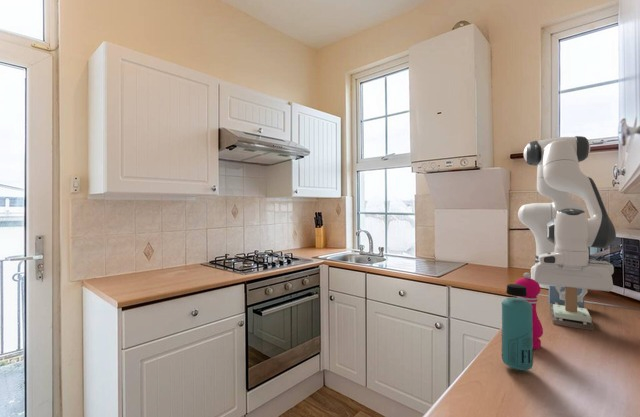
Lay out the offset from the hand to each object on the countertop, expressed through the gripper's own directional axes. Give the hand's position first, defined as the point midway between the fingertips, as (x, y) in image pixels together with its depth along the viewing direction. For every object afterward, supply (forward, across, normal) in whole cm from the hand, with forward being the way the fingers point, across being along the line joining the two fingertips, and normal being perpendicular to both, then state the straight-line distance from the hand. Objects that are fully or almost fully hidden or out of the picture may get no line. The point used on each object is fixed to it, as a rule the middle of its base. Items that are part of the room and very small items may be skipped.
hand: (570, 300), depth 104 cm
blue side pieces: (+7, 0, -18) cm, 19 cm away
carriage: (+5, 0, 0) cm, 5 cm away
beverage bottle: (+7, +14, +44) cm, 47 cm away
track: (+7, 0, -5) cm, 9 cm away
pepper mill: (+7, +12, +27) cm, 30 cm away
